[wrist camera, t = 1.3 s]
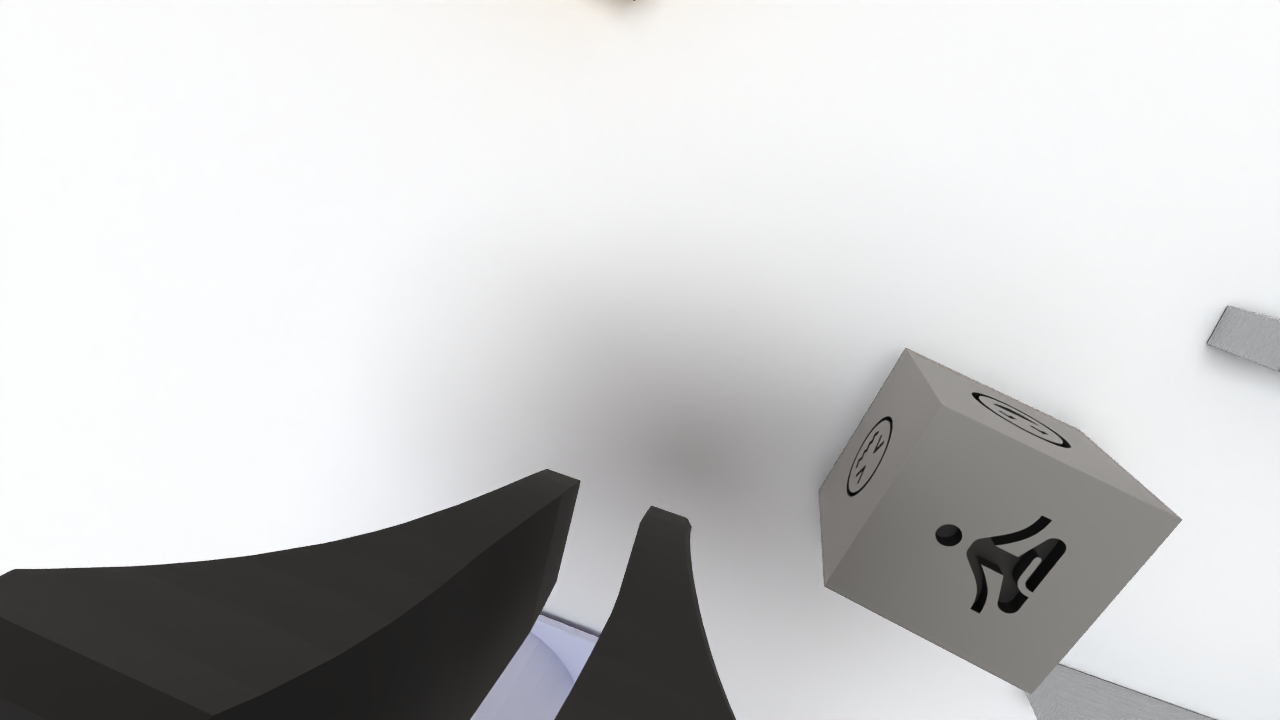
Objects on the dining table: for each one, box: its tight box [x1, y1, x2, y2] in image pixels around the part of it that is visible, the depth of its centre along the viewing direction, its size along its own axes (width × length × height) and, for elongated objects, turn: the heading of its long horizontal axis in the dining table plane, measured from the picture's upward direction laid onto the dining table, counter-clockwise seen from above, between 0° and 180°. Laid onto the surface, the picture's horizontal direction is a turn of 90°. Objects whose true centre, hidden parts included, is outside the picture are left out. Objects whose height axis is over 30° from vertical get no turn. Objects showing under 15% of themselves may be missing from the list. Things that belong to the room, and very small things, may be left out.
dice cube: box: [819, 348, 1182, 694], centre depth 16 cm, size 5×5×5 cm
